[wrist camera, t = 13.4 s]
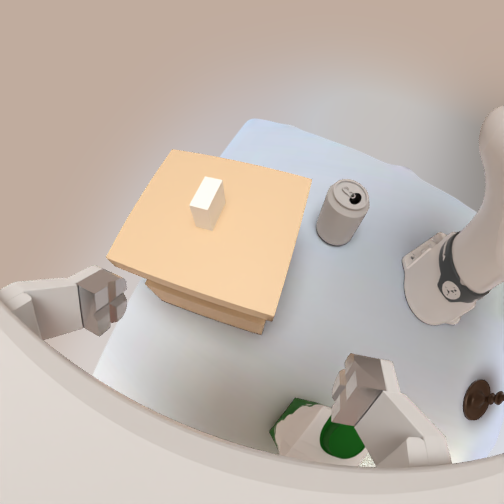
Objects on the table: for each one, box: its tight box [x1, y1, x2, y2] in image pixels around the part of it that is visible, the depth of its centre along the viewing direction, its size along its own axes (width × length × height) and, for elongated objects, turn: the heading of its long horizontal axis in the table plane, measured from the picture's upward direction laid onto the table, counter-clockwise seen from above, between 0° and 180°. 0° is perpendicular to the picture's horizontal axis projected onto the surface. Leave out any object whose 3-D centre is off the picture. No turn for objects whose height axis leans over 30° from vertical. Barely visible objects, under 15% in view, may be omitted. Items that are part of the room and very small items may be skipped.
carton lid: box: [106, 149, 312, 321], centre depth 30 cm, size 18×20×6 cm
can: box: [316, 179, 369, 245], centre depth 46 cm, size 8×8×12 cm
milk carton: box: [269, 398, 368, 466], centre depth 27 cm, size 9×9×20 cm
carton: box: [145, 279, 266, 335], centre depth 43 cm, size 16×18×9 cm
